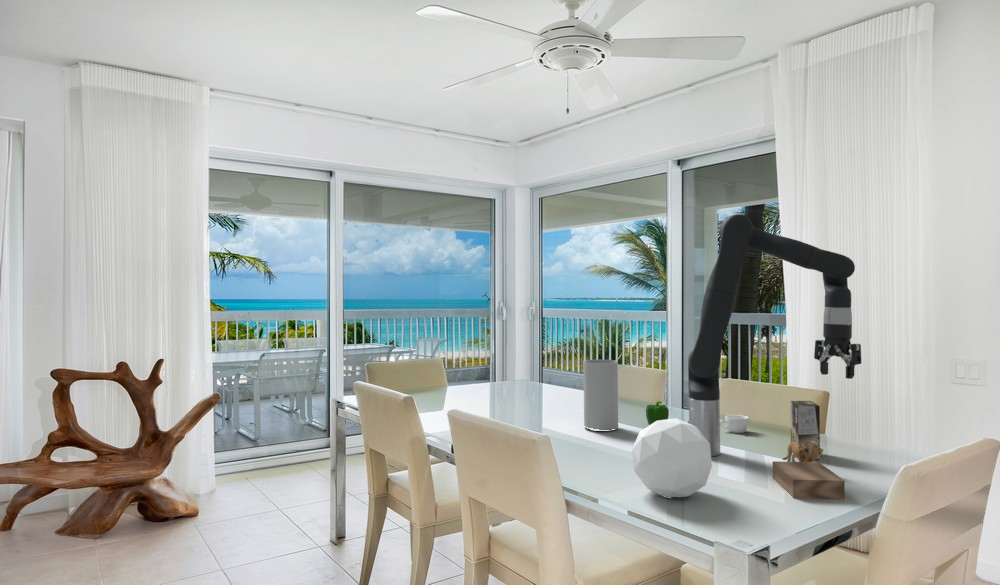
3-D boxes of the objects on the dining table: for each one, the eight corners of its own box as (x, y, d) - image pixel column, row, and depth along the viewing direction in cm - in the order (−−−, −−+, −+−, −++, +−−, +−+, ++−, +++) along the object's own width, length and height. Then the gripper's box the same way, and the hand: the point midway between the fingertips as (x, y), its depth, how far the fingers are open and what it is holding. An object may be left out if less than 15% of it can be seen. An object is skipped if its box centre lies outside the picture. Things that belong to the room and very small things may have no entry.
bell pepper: (645, 423, 238) (644, 397, 238) (667, 424, 237) (666, 398, 237) (647, 428, 230) (646, 401, 230) (670, 429, 229) (669, 402, 229)
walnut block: (793, 499, 153) (792, 479, 153) (772, 479, 169) (772, 461, 169) (844, 501, 152) (844, 480, 152) (819, 480, 168) (819, 462, 168)
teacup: (743, 429, 227) (743, 414, 227) (752, 434, 219) (751, 419, 219) (716, 429, 227) (716, 414, 227) (723, 434, 220) (723, 419, 220)
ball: (675, 529, 152) (654, 477, 142) (629, 479, 169) (608, 429, 159) (736, 486, 155) (720, 432, 145) (685, 441, 172) (668, 390, 162)
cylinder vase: (621, 432, 225) (620, 363, 225) (586, 432, 225) (585, 363, 225) (615, 424, 237) (614, 359, 237) (582, 425, 238) (581, 359, 237)
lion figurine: (826, 474, 172) (826, 442, 172) (809, 476, 171) (809, 443, 171) (789, 460, 186) (789, 430, 186) (774, 461, 185) (774, 431, 185)
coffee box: (821, 459, 187) (820, 405, 187) (797, 458, 188) (797, 405, 188) (812, 451, 196) (811, 400, 196) (790, 450, 197) (789, 399, 197)
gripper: (808, 321, 192) (807, 373, 192) (849, 324, 179) (848, 380, 179) (826, 321, 195) (825, 372, 195) (868, 323, 182) (867, 379, 182)
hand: (836, 376), depth 187 cm, fingers open, 8 cm apart
